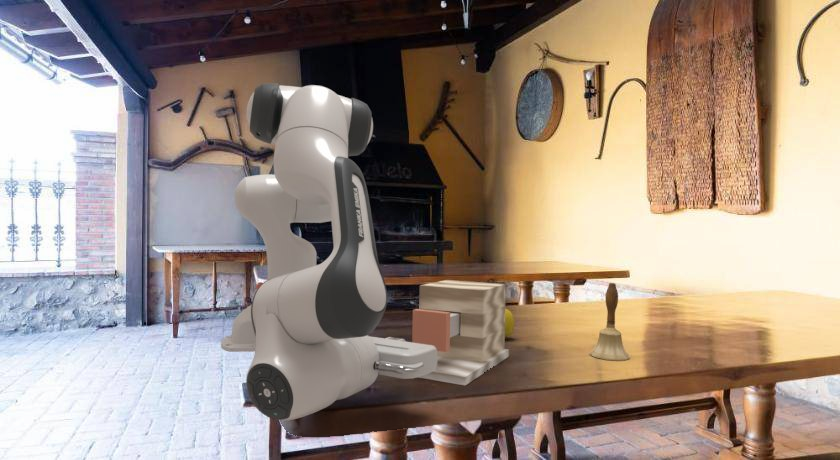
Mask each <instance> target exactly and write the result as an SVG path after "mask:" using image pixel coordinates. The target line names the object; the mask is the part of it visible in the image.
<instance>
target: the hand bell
mask: <svg viewBox="0 0 840 460" xmlns="http://www.w3.org/2000/svg"><path fill="white" fill-rule="evenodd" d="M618 302H619V292H618V290H617V283H616V282H615V283H614V282H609V283H608V287H607V289H606V291H605V306H606V309H607V311H606V312H607V315H606V317H607V318H606V320H607V321H606V327H605V328H603V329H601V330H600V331H599V333H598V339H597V342H596V345H595V346H594V348H592V349H591V350H590V352H589V355H590V356H591V357H593V358H597V359H599V360H605V361H616V362H621V361H623V362H625V361H628V360H630V359H631V356H630V354H629V353H628V352H627V350H626V349H625V346H624V344H623V338H622V332H621V331H619V330H618V329H616V309H617V307H618Z"/></svg>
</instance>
